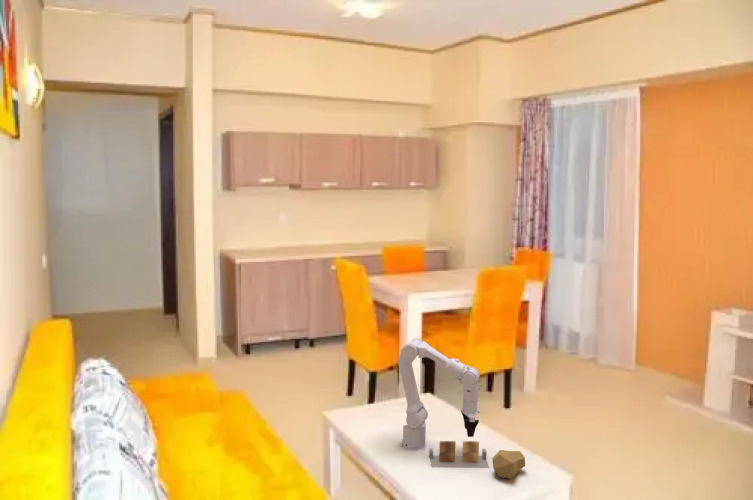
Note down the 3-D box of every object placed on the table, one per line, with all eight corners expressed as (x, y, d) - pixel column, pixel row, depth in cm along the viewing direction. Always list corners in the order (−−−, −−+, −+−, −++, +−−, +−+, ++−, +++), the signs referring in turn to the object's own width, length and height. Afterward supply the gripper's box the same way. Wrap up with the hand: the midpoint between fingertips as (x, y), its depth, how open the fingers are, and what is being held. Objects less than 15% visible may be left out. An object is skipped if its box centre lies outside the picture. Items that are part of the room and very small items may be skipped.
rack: (431, 468, 246) (431, 459, 246) (429, 456, 256) (429, 448, 256) (489, 469, 246) (489, 460, 246) (485, 457, 256) (485, 448, 256)
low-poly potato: (495, 486, 234) (524, 476, 230) (483, 456, 237) (512, 445, 234) (504, 479, 247) (532, 470, 244) (493, 451, 251) (520, 441, 247)
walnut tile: (439, 462, 251) (439, 442, 249) (439, 460, 252) (439, 440, 251) (455, 462, 251) (455, 442, 249) (454, 460, 252) (455, 440, 251)
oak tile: (462, 462, 251) (463, 442, 249) (462, 460, 252) (462, 441, 251) (478, 462, 251) (479, 442, 249) (477, 460, 252) (478, 441, 251)
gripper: (483, 406, 246) (482, 440, 248) (477, 392, 261) (476, 425, 263) (464, 406, 246) (463, 440, 248) (459, 392, 261) (459, 425, 263)
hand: (469, 432), depth 255 cm, fingers open, 7 cm apart
